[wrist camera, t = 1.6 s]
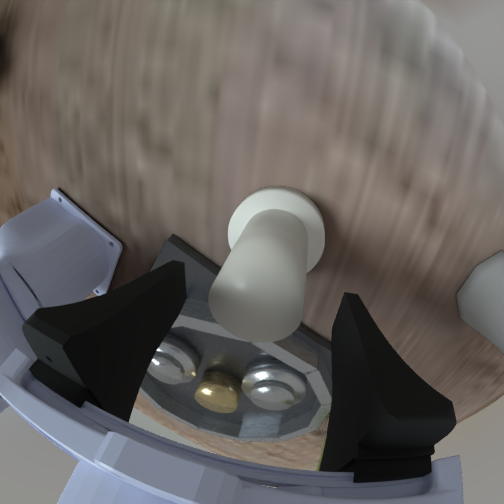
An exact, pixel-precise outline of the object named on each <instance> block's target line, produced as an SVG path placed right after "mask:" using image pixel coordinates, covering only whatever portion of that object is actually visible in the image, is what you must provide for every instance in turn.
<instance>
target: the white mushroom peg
mask: <svg viewBox="0 0 504 504" xmlns="http://www.w3.org/2000/svg"><path fill="white" fill-rule="evenodd" d="M228 240H229V245H230V248H231V252H230V254H229V256H228V258H227V259H226V261H225V263H224V265H223V267H222V268H221V270H220V272H219V274H218V276H217V277H216V279H215V281H214V283H213V284H212V286H211V289H210V291H209V295H208V303H209V308H210V311H211V313H212V315H213V317H214V318H215V320H216V321H217V322H218V323H219V325H220V326H221V327H223V328H224V329H225V330H226V331H228V332H229V333H231V334H232V335H234V336H236V337H239V338H241V339H244V340H247V341H252V342H260V343H267V342H274V341H278V340H281V339H284V338H286V337H288V336H289V335H291V334H292V333H293V332H294V331H295V330H296V329H297V328H298V327H299V325H300V323H301V321H302V317H303V310H304V298H305V286H306V273H308V272H309V271H310V270H311V269H312V268H314V266H315V265H316V264H317V263H318V261H319V260H320V258H321V256H322V254H323V250H324V246H325V230H324V222H323V218H322V215H321V213H320V211H319V209H318V207H317V206H316V205H315V203H314V202H313V201H312V200H311V199H310V198H309V197H308V196H306V195H305V194H303V193H302V192H300V191H298V190H296V189H293V188H290V187H285V186H269V187H264V188H261V189H258V190H256V191H254V192H253V193H251V194H250V195H248V196H247V197H246V198H245V199H244V200H243V202H242V203H241V204H240V205H239V207H238V208H237V209H236V211H235V212H234V214H233V215H232V218H231V220H230V223H229V227H228Z"/></svg>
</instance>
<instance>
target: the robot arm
mask: <svg viewBox="0 0 504 504" xmlns="http://www.w3.org/2000/svg"><path fill="white" fill-rule="evenodd" d="M112 242H113V243H112ZM122 249H123V246H122V244H121V243H120V242H119V241H118V240H117V239H116V238H114V237H113V236H112V235H111V234H109V233H108V232H107V231H106V230H104V229H103V228H102V227H101V226H100V225H98V224H97V223H96V222H95V221H94V220H92V219H91V218H90V217H89V216H88V215H86V214H85V213H84V212H83V211H82V210H81V209H79V208H78V207H77V206H76V205H75V204H74V203H73V202H71V201H70V200H69V199H68V198H67V197H66V196H65V195H64V194H62V193H61V192H60V191H59V190H58V189H57V188H55V189H53V190H52V191H51V197H49V198H47V199H45V200H44V201H42V202H40V203H38V204H36V205H34V206H32V207H31V208H29V209H27V210H25V211H24V212H22V213H20V214H19V215H17V216H15V217H13V218H12V219H10V220H9V221H7V222H6V223H5V224H4V225H3V226H2V227H1V228H0V413H1V412H2V411H3V410H4V409H6V408H7V407H8V406H11V407H12V408H13V409H14V410H15V411H16V412H17V413H18V414H19V415H20V416H21V417H22V418H23V419H24V420H26V421H27V422H28V423H29V424H30V425H31V426H32V427H34V428H35V429H36V430H37V431H38V432H40V433H41V434H42V435H43V436H44V437H46V438H47V439H48V440H50V441H51V442H52V443H53V444H55V445H56V446H57V447H59V448H60V449H62V450H63V451H64V452H66V453H67V454H69V455H70V456H72V457H73V458H74V459H76V460H78V461H79V462H78V465H77V466H76V468H75V470H74V472H73V474H72V475H71V477H70V479H69V481H68V483H67V485H66V487H65V489H64V491H63V493H62V494H61V496H60V499H59V500H58V502H57V504H463V483H462V471H461V461H460V456H459V455H456V456H451V457H447V458H441V459H437V460H434V461H432V462H431V455H433V454H434V452H435V450H434V445H435V444H436V443H438V442H439V441H440V440H441V439H443V438H444V437H445V436H447V435H448V434H449V433H450V432H451V431H452V430H453V428H454V427H455V425H456V417H455V412H454V408H453V404H452V401H450V400H449V399H447V398H446V397H444V396H443V395H442V394H440V393H439V392H437V391H436V390H435V389H433V388H432V387H431V386H430V385H429V384H427V383H426V382H425V381H424V380H423V379H422V378H420V377H419V376H418V375H417V374H416V373H415V372H414V371H413V370H412V369H411V368H410V367H409V366H408V365H407V364H406V363H405V362H404V361H403V359H402V358H401V357H400V356H399V355H398V354H397V352H396V351H395V350H394V349H393V348H392V346H391V345H390V344H389V342H388V341H387V339H386V338H385V337H384V335H383V334H382V332H381V331H380V330H379V328H378V327H377V325H376V323H375V322H374V320H373V319H372V317H371V315H370V314H369V312H368V310H367V309H366V307H365V305H364V304H363V302H362V300H361V299H360V297H359V296H358V294H352V293H346V292H345V293H344V295H343V298H342V301H341V304H340V307H339V310H338V313H337V315H336V318H335V321H334V324H333V327H332V339H331V360H332V401H331V409H330V417H329V424H328V430H327V436H326V441H325V446H324V451H323V455H322V460H321V464H320V468H319V471H309V470H298V469H290V468H282V467H275V466H269V465H263V464H257V463H252V462H247V461H242V460H238V459H233V458H229V457H225V456H221V455H217V454H214V453H210V452H206V451H203V450H200V449H196V448H193V447H190V446H187V445H184V444H181V443H177V442H175V441H172V440H169V439H167V438H164V437H161V436H159V435H156V434H153V433H151V432H149V431H146V430H144V429H142V428H139V427H137V426H134V425H132V424H130V423H129V419H130V415H131V412H132V409H133V406H134V403H135V400H136V397H137V395H138V392H139V389H140V386H141V384H142V382H143V379H144V377H145V374H146V372H147V370H148V367H149V365H150V363H151V361H152V359H153V357H154V355H155V353H156V351H157V349H158V348H159V346H160V344H161V343H162V341H163V340H164V338H165V337H166V335H167V333H168V332H169V330H170V329H171V327H172V326H173V324H174V322H175V321H176V319H177V317H178V316H179V314H180V312H181V310H182V308H183V305H184V303H185V301H186V298H187V291H186V277H185V262H180V261H175V260H172V261H170V262H167V263H165V264H164V265H162V266H160V267H158V268H156V269H154V270H153V271H151V272H149V273H147V274H145V275H143V276H141V277H140V278H138V279H136V280H134V281H132V282H130V283H128V284H126V285H124V286H122V287H119V288H117V289H115V290H112V291H110V292H107V291H108V288H109V285H110V282H111V280H112V277H113V274H114V271H115V268H116V265H117V263H118V260H119V257H120V255H121V252H122ZM92 292H95V293H96V294H97V295H98V296H96V297H93V298H90V299H86V298H87V297H88V296H89V295H90V294H91V293H92ZM85 299H86V300H85ZM263 485H265V486H263ZM267 486H271V487H267ZM272 487H277V488H272Z"/></svg>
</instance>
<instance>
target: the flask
mask: <svg viewBox="0 0 504 504" xmlns="http://www.w3.org/2000/svg"><path fill="white" fill-rule="evenodd" d="M456 297H457V303H458V309H459V316H460V318H461V319H462V320H464V321H465V322H466V323H467V324H469V325H470V326H471V327H473V328H474V329H475V330H477V331H478V332H479V333H481V334H482V335H483V336H484V337H485V338H487V339H488V340H489V341H490V342H491V343H492V344H494V345H495V346H496V347H497V348H498V349H499V350H500V351H501V352H502V353H503V354H504V252H503V251H500V252H498V253H497V254H495V255H494V256H492V257H490V258H489V259H487V260H486V261H484V262H482V263H481V264H479V265H477V266H476V267H475V268H474V270H473V271H472V273H471V274H470V276H469V277H468V279H467V280H466V282H465V283H464V284H463V286H462V287H461V289H460V290H459V291H458V293H457V294H456Z"/></svg>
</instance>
